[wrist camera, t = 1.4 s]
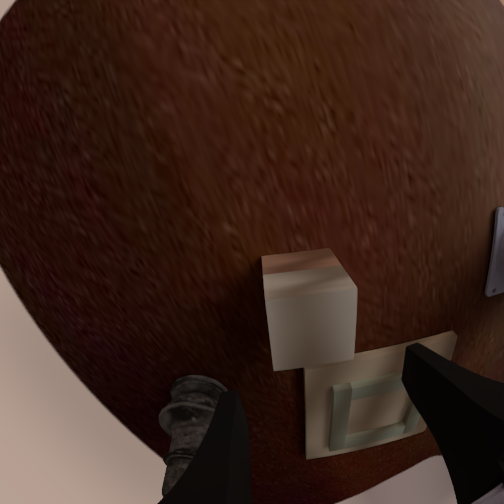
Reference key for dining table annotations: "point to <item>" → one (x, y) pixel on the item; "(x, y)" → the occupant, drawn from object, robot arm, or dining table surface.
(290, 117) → the dining table surface
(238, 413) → the robot arm
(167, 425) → the dark grey chess piece
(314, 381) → the pocket board
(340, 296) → the brown and beige block
